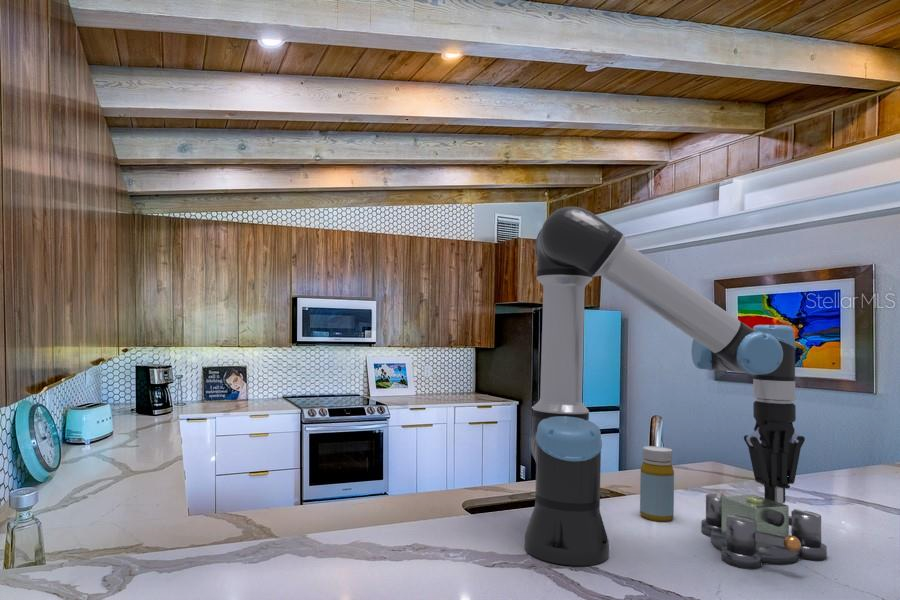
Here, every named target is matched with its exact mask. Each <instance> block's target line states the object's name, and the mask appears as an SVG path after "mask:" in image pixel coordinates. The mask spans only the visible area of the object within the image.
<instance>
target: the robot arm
mask: <svg viewBox="0 0 900 600" xmlns="http://www.w3.org/2000/svg"><path fill="white" fill-rule="evenodd" d="M545 219H546V220H545V221H544V223H543V225H542V226H541V229H540V231H539V232H538V234H537V236H536V240H535V255H536V280H537V281H538V282H539V283H540V284H541V285H542V288H543V292H542V293H543V294H542V295H543V296H542V297H543V298H542V327H541V328H542V329H541V330H542V331H541V355H540V356H541V357H540V358H541V360H540V361H541V362H540V391H539V393H540V394H539V400H538V402H536V403H535V404H534V405H533V406H532V411H531V414H532V418H531V431H530V434H529V451H530V454H531V456H532V457H533V459H534V461H535V472H536V473H535V501H534V506H533V510H532V513H531V516H530V519H529V522H528V525H527V527H526V530H525V533H524V549H525V551H526V552H527V553H528V554H530V555H531V556H533V557H534V558H537V559H539V560H542V561H545V562H548V563H553V564H556V565H557V564H558V565H564V566H578V567H579V566H582V567H583V566H592V565H597V564H600V563H603V562H605V561H607V559H608V558H609V556H610V542H609V538H608V535H607V532H606V529H605V524H604V521H603V518H602V514H601V508H600V506H601V502H600V501H601V466H602V465H601V464H602V461H601V460H602V457H601V456H602V455H601V454H602V447H603V441H602V436H601V435H602V434H601V429H600V427H599V426H598V425H597V424H596V423H595V422H593V421H590V418H589V417H590V410H589V409H588V408H587V407H586V406H585V404H584V403H583V400H582V398H583V397H582V396H583V372H584V371H583V369H584V368H583V367H584V333H585V332H584V328H585V327H584V326H585V325H584V324H585V321H584V320H585V293H586V292H585V291H586V290H585V289H586V287H587V285H588V284H589V283H591V282H592V280H593V277H599V276H600V277H602V278H604V279H606V280H607V281H609V282H610V283H612V284H613V285H614V286H616V287H618V288H619V289H620V290H622V291H624V292H625V293H627V294H628V295H629V296H631V297H632V298H633V299H635V300H636V301H638V302H639V303H640V304H642V305H644V306H645V307H647V308H648V309H649V310H651V311H652V312H653V313H656V314H657V315H658V316H660V317H661V318H663V319H664V320H666V321H667V322H668V323H670V324H671V325H673V326H674V327H676V328H677V329H679V330H680V331H681V332H682V333H684V334H685V335H687V336H689V337H690V338H692V339H693V340H692V342H691V359H692V363H693V364H694V366H695V368H697V369H698V370H709V371H727V372H734V373H742V374H747V375H750V376H752V381H753V386H752V389H753V390H752V391H753V394H752V395H753V398H754V399H756V400H754V402H753V410H752V411H753V418H754V420H755V424H754V428H753V431H754V432H752V433H751V434H750V435H748V434H745V435H743V439H744V440H743V441H744V443H745V444H746V445H747V447H748V453H749V457H750V462H751V467H752V472H753V476H754V481H755V482H756V483H759V484H761V485H763V486H764V498H766V499H769V500H772V501H775V502H778V503H781V504H785V503H786V489H789V488H791V485H793V484H795V482H796V476H797V470H798V465H799V460H800V453H801V449H802V447H803V445H804V443H805V440H806V438H805V437H804V436H803V435H799V434H798V433H796V432H795V431H796V429H795V427H794V424H793V423H795V421H796V420H797V418H796V416H797V415H796V413H797V411H796V406H797V405H796V404H795V403H793V402H794V401H796V349H797V347H796V339H795V337H796V336H795V331H794V328H793V327H791V326H789V325H783V324H757V325H754V326H753V328H751V326H748V325H747V324H745V323H744V322H742V321H741V320H739V319H738V318H737V317H735V316H734V315H732V314H730V313H729V312H727V311H726V310H724V309H723V308H722V307H720V306H719V305H717V304H715V303H714V302H713V301H711V300H710V299H708V298H707V297H705V296H704V295H703V294H701V292H699V291H697V290H695V289H694V288H693V287H692V286H690V285H688V284H687V283H685V282H684V281H682V280H681V279H679V278H678V277H677V276H675V275H673V274H672V273H671V272H669V271H667V270H666V269H665V268H663V267H662V266H660V265H659V264H658V263H656V262H655V261H653V260H652V259H650V258H649V257H647V256H646V255H644V254H643V253H642V252H640V251H639V250H637V249H636V248H634V247H633V246H631V245H630V244H628V243H627V241H626V236H625V234H623V232H621V231H619V230H618V229H617V228H616V227H613V226H612V225H610V224H609V223H608V222H606V221H605V220H603V219H602V218H601V217H599V216H597V215H596V214H595V213H593V212H592V211H589V210H588V209H585V208H582V207H580V206H565V207H561V208H558V209H556V210H555V211H553V212H551V214H550V215H549V216H547V218H545Z"/></svg>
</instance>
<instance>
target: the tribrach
mask: <svg viewBox="0 0 900 600" xmlns="http://www.w3.org/2000/svg"><path fill="white" fill-rule="evenodd" d="M728 515H732V516H743V517H748V518H751V519H753V520H755V521H756V531H760V532H765V533H769V534H774V535H779V536H783V537H786V536H790V535H789V531H790V530H789V529H790V528H789V526H790V525H789V516H790V514H789V505H787V504H785V503H783V504H781V503H778V502H775V501H772V500H769V499H766V498H765V497H763V496H759V495H757V494H754V493H753V494H742V495H725V496H724V497H722V526H715V525H711V524H709V523H707V522H706V518H704V519H702V520H701V524H700V525H701V530H700V531H701V533H702V534H703V535H705V536H708V537H710V539H711V541H710V543H711V544H710V545H711V546H712V547H713V548H714V549H716V550H717V551H719V552H720V555H721V558H720V559H721V561H722V562H724V563H725V564H727V565H729V566H732V567H735V568H740V569H746V570H757V569H760V568H762V564H765V565H778V566H780V565H781V566H782V565H783V566H785V565H792V564H796V563H798V562H799V561H800V560H801V559H802V560H807V561H813V562H814V561H815V562H822V561H826V560H827V556H828V555H827V554H828V553H827V552H828V551H827V545H826V544H824V543H822V542H821V546H820V547H810V546H804V545H801V548H800V550H798V551H797V552H791V551H789V550H787V549H786V548H785V547H781V546H777V545H773V544H768V543H764V542H760V541H756V553H755V554H741V553H736V552H733V551H731V550H729V549H727V548H726V517H727V516H728Z"/></svg>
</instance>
